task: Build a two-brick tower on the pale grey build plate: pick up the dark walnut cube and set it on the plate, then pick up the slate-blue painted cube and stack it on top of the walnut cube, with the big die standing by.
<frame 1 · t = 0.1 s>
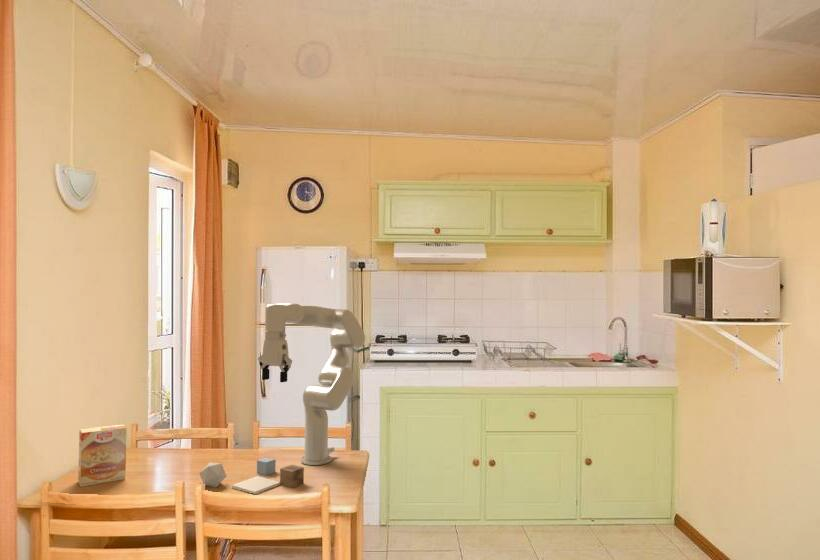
hand: (274, 380, 215), 37 cm above the table, tool pointing down, fingers open, 9 cm apart
blue block: (266, 472, 219), on the table
coffeecake box: (102, 481, 209), on the table
walnut block: (291, 484, 206), on the table
die: (212, 485, 205), on the table
build plate: (256, 486, 204), on the table
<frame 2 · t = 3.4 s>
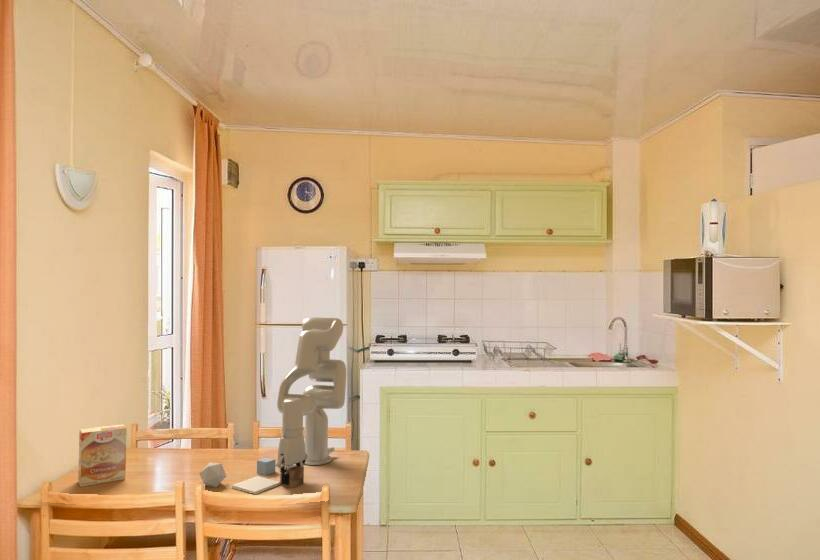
hand: (291, 481, 206), 1 cm above the table, tool pointing down, fingers closed on walnut block, 6 cm apart
walnut block: (291, 484, 206), on the table, touching gripper
everything else where it was.
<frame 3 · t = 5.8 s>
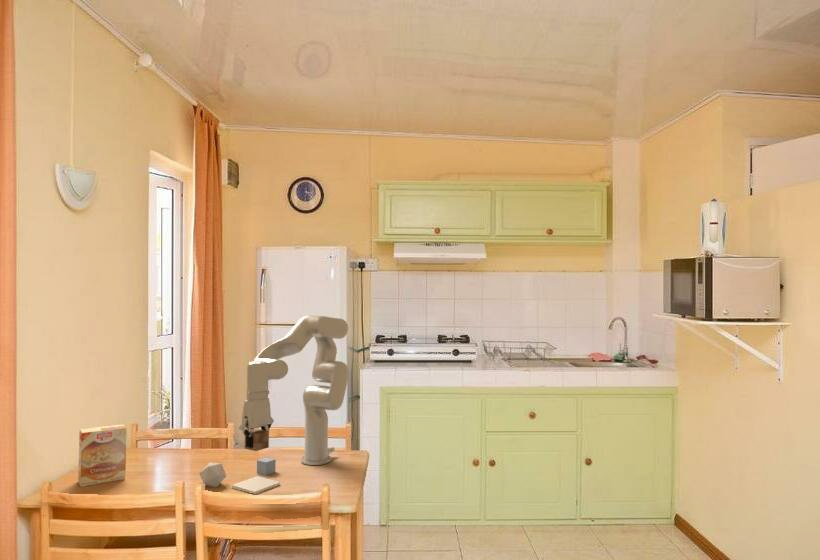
hand: (256, 444, 204), 15 cm above the table, tool pointing down, fingers closed on walnut block, 6 cm apart
walnut block: (256, 448, 204), point 14 cm above the table, touching gripper
everything else where it was.
when the fingers open (3 cm above the table, at t = 8.4 s): walnut block stays where it is, resting on build plate.
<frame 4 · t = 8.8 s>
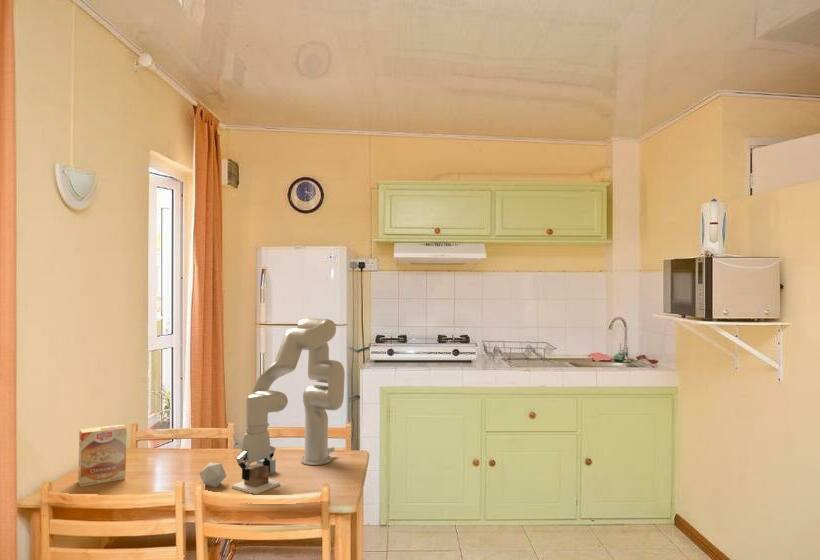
hand: (256, 475, 204), 4 cm above the table, tool pointing down, fingers open, 9 cm apart
walnut block: (256, 483, 204), point 1 cm above the table, touching build plate
everything else where it was.
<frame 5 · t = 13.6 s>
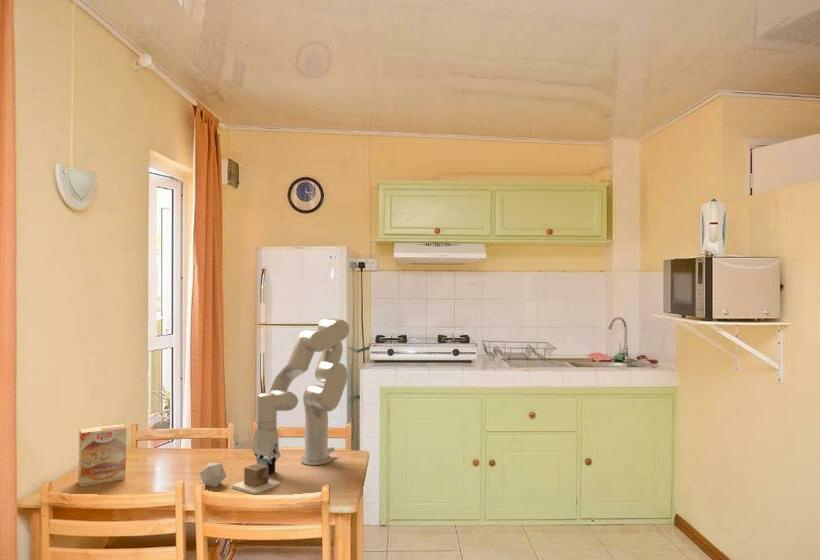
hand: (266, 471, 219), 0 cm above the table, tool pointing down, fingers closed on blue block, 5 cm apart
blue block: (266, 472, 219), on the table, touching gripper
everything else where it was.
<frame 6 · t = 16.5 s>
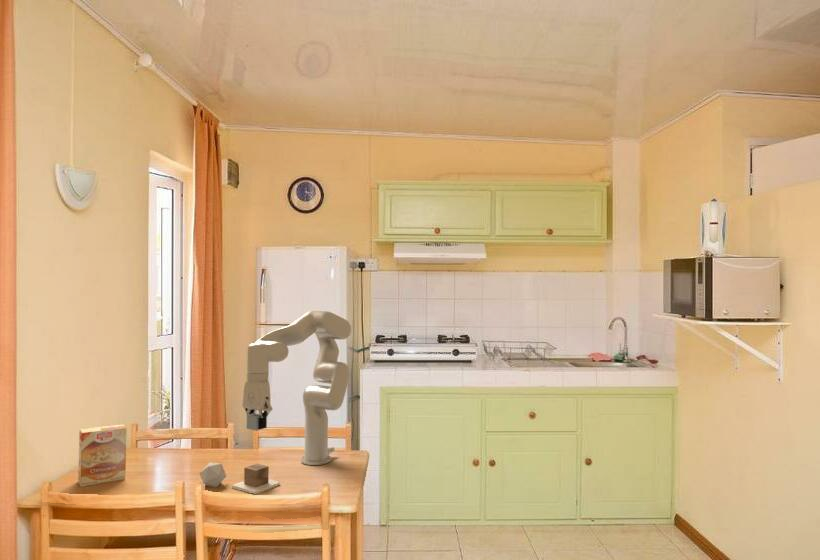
hand: (256, 426, 204), 22 cm above the table, tool pointing down, fingers closed on blue block, 4 cm apart
blue block: (256, 428, 204), point 21 cm above the table, touching gripper
everything else where it was.
when the fingers open (8 cm above the table, at t = 19.3 s): blue block stays where it is, resting on walnut block.
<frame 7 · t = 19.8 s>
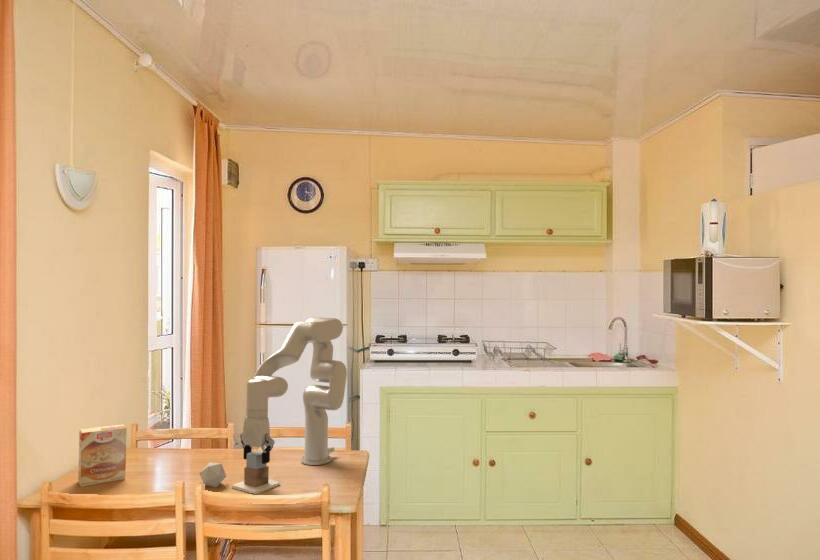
hand: (256, 460, 204), 9 cm above the table, tool pointing down, fingers open, 9 cm apart
blue block: (256, 467, 204), point 7 cm above the table, touching walnut block
walnut block: (256, 483, 204), point 1 cm above the table, touching blue block, build plate
everything else where it was.
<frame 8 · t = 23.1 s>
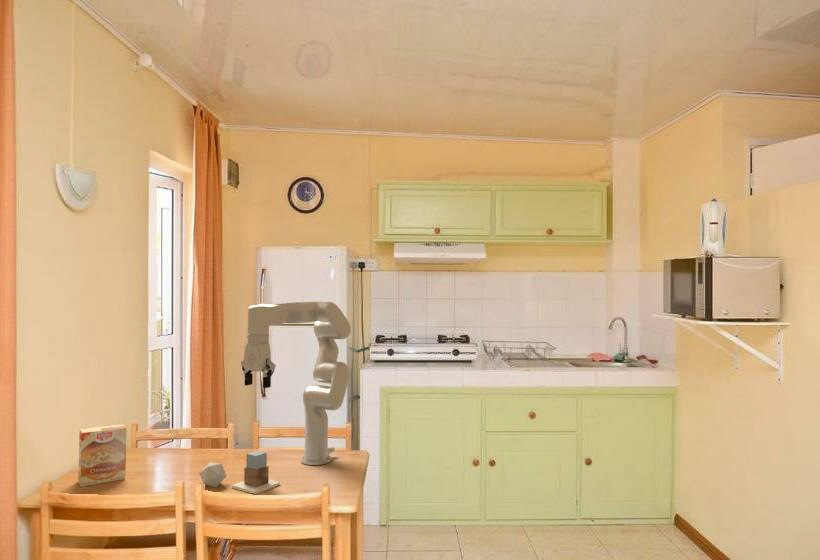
hand: (257, 386, 204), 36 cm above the table, tool pointing down, fingers open, 9 cm apart
nothing on the table moved.
at the end: walnut block inside the target area on the build plate (0.0 cm from its centre), point 1.0 cm above the build plate's base; blue block 0.0 cm off-centre on the walnut block, point 6.0 cm above the walnut block's base; blue block tilted 0° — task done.
